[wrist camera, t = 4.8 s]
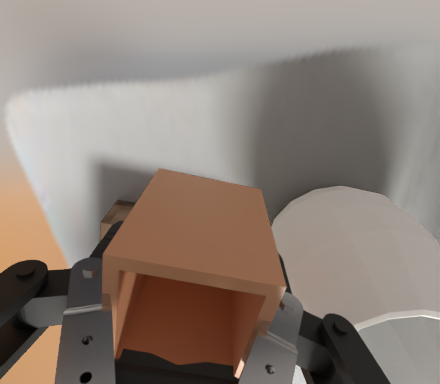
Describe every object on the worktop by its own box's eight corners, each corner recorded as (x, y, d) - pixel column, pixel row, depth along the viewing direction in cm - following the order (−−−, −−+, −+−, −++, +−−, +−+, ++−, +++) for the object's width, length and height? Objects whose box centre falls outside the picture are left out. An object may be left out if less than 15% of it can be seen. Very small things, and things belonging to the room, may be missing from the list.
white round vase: (230, 226, 27) (234, 358, 15) (342, 140, 23) (469, 229, 11) (306, 295, 32) (355, 442, 19) (413, 232, 27) (561, 370, 15)
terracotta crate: (261, 189, 14) (286, 287, 8) (237, 267, 17) (242, 388, 11) (158, 168, 14) (102, 254, 8) (149, 251, 17) (100, 367, 10)
